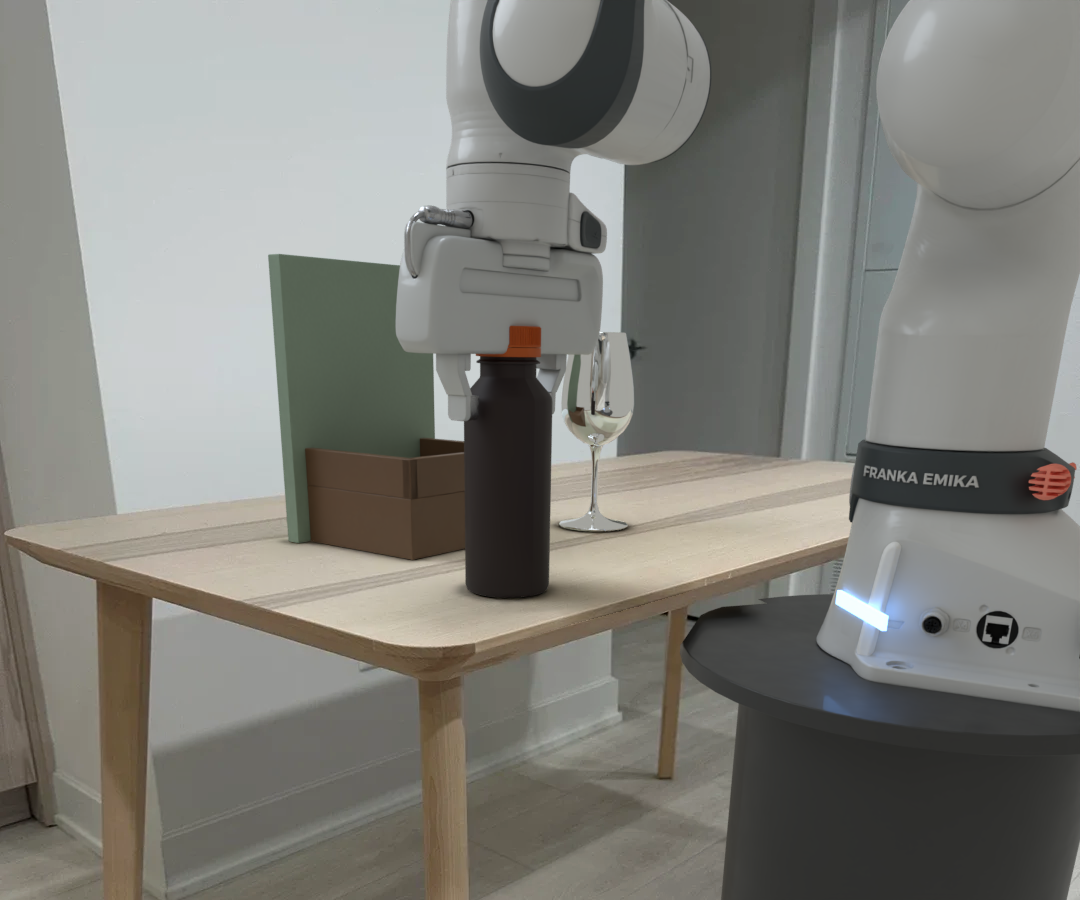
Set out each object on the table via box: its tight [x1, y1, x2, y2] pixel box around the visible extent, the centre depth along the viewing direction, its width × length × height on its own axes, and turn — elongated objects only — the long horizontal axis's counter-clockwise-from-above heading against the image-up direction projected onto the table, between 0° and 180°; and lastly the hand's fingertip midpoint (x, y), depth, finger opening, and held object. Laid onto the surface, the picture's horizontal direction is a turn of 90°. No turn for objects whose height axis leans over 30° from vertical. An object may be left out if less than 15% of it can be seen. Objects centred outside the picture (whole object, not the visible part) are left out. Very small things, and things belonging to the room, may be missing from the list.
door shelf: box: [267, 253, 465, 561], centre depth 99 cm, size 16×20×26 cm
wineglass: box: [558, 331, 635, 533], centre depth 108 cm, size 8×8×20 cm
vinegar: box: [463, 326, 553, 599], centre depth 79 cm, size 7×7×20 cm
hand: (503, 417), depth 78 cm, fingers open, 8 cm apart
